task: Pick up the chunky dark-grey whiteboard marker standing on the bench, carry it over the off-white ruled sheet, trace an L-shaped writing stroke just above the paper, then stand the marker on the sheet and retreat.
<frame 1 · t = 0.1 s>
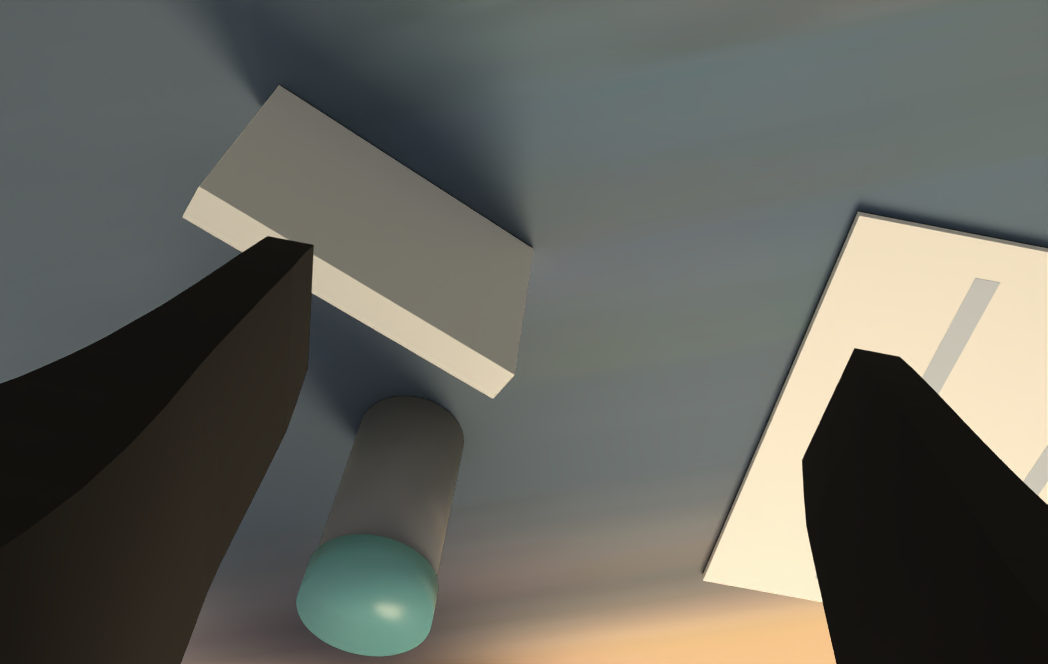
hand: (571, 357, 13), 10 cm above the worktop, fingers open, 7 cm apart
marker: (411, 436, 27), on the worktop
paper: (965, 457, 26), on the worktop
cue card: (403, 182, 23), on the worktop
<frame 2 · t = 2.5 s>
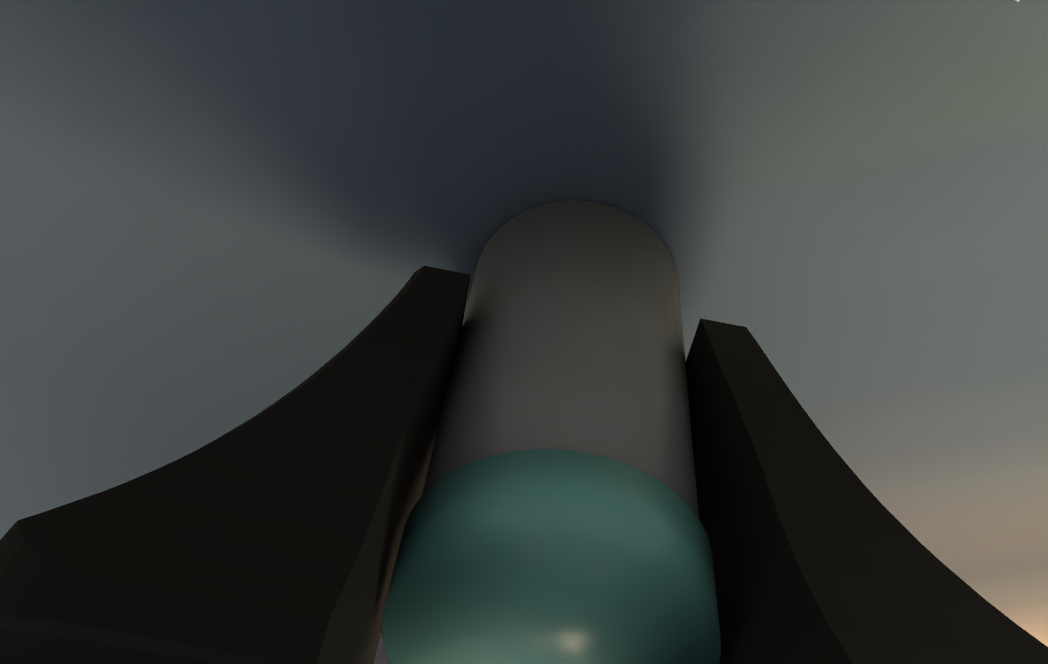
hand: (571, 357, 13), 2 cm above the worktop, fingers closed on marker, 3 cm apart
marker: (575, 291, 14), on the worktop, touching gripper
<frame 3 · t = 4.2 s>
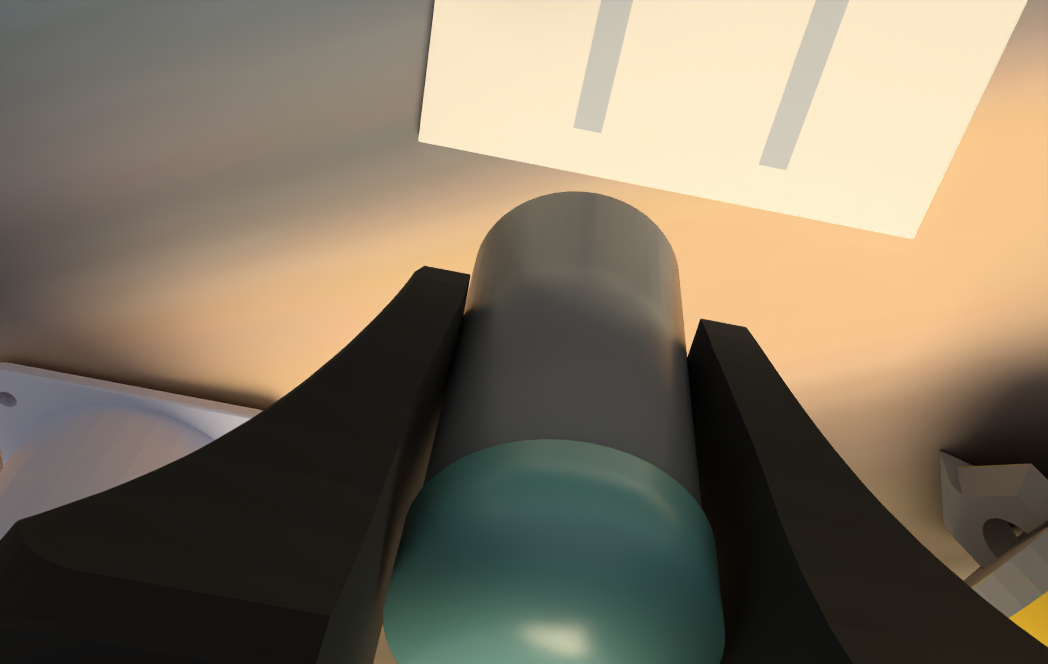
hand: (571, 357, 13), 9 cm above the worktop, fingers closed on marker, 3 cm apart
marker: (575, 283, 14), point 7 cm above the worktop, touching gripper
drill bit: (1047, 487, 25), on the worktop
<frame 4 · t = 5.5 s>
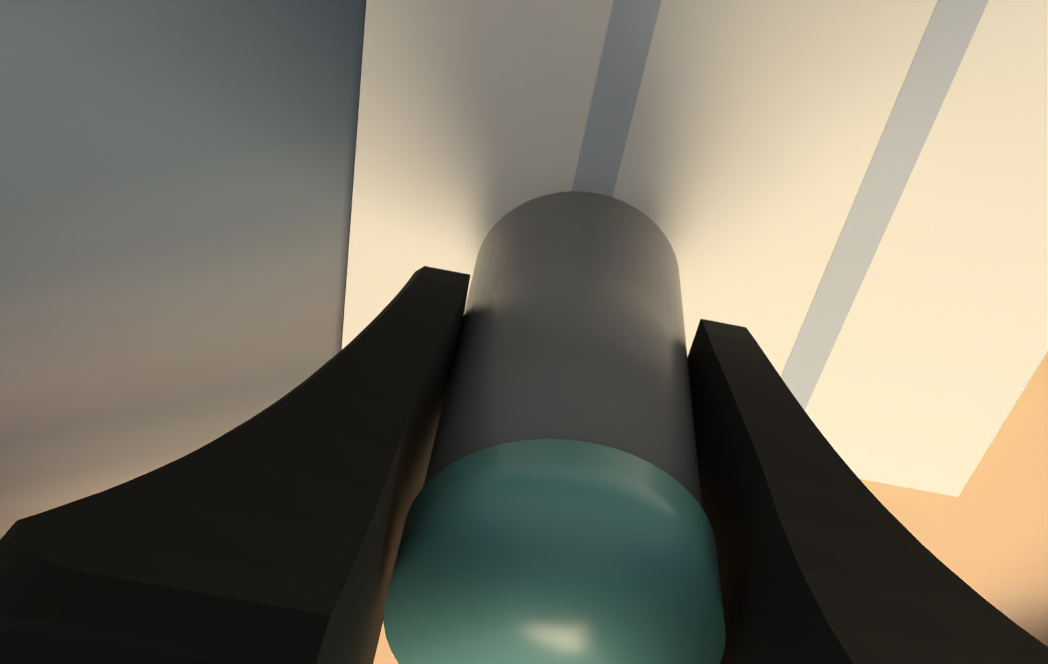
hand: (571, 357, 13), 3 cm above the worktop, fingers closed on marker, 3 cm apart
marker: (576, 283, 14), point 1 cm above the worktop, touching gripper
paper: (767, 81, 13), on the worktop
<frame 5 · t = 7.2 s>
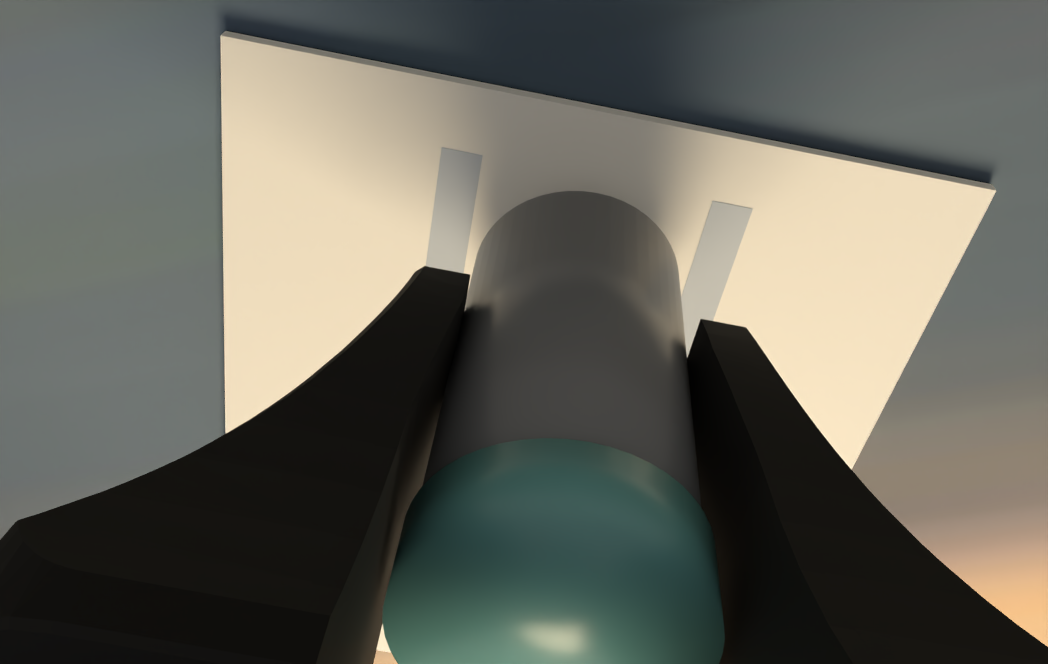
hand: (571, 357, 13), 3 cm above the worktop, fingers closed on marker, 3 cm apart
marker: (575, 283, 14), point 1 cm above the worktop, touching gripper
paper: (532, 445, 17), on the worktop
when the fingers open (2 cm above the worktop, at t = 8.6 s): marker stays where it is, resting on paper.
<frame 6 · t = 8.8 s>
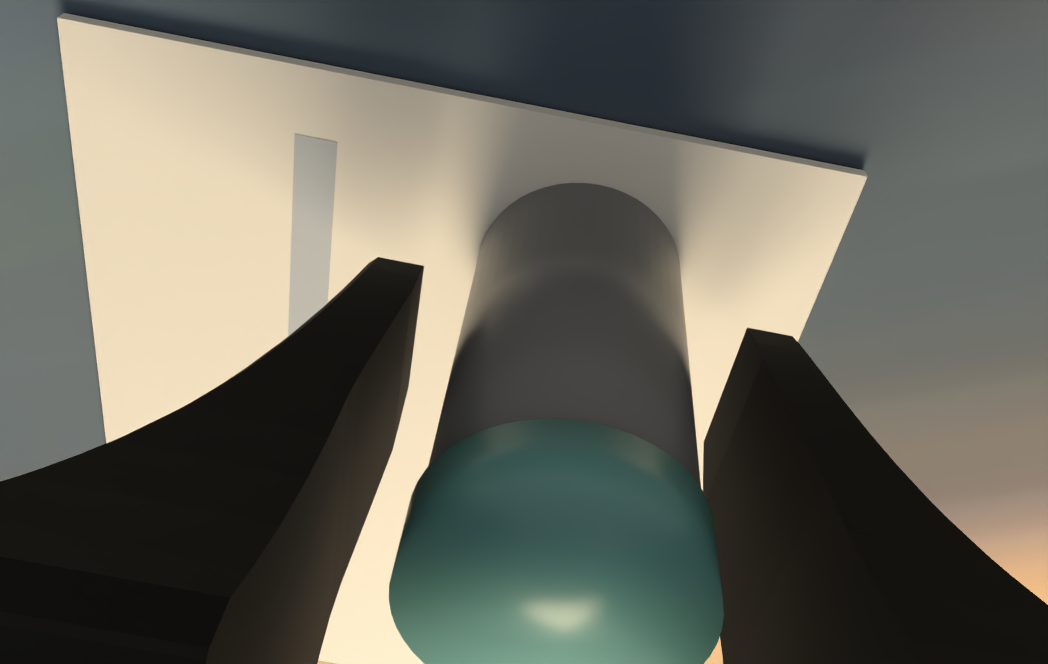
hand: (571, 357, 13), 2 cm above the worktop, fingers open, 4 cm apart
marker: (577, 274, 14), resting on paper
paper: (419, 442, 17), on the worktop
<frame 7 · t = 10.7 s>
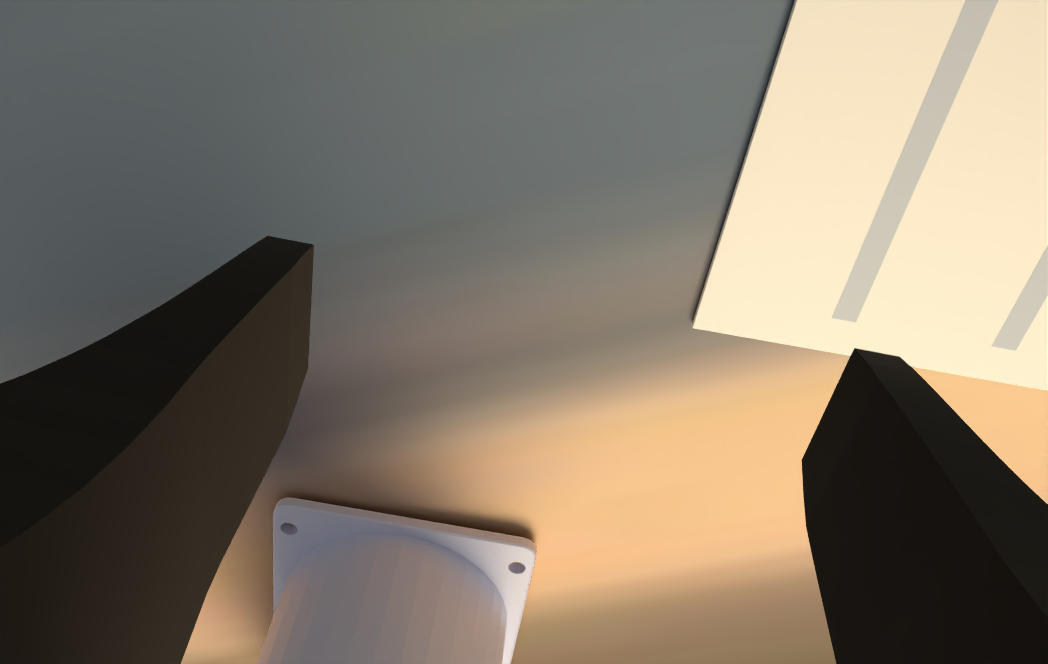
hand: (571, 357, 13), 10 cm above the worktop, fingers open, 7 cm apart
paper: (1023, 123, 20), on the worktop
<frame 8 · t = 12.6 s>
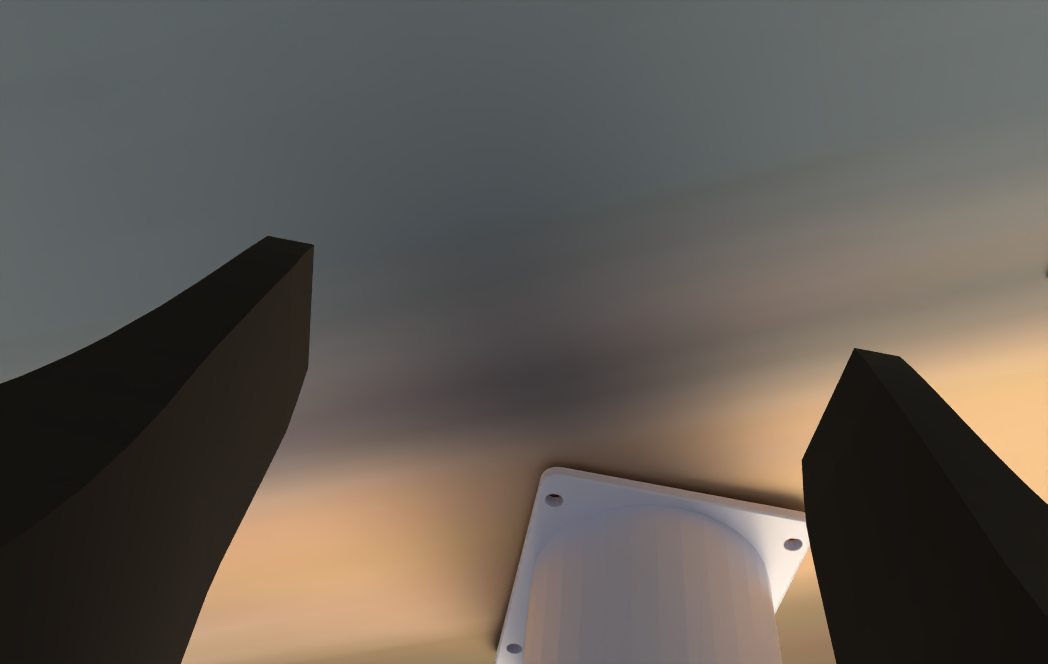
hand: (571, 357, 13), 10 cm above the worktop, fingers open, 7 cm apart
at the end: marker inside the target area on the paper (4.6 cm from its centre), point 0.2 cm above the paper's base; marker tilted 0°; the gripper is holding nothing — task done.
